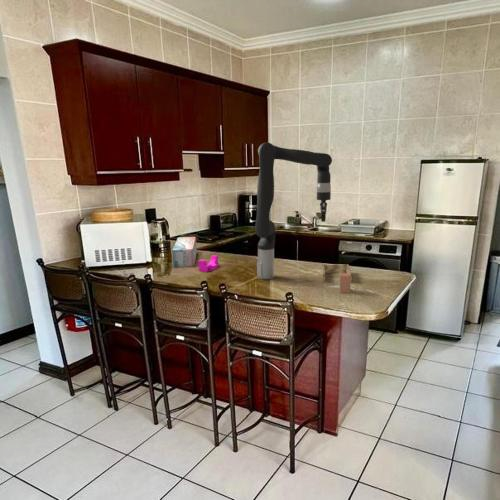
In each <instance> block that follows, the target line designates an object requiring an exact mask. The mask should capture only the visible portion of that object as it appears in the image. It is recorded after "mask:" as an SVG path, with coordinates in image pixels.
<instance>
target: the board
mask: <svg viewBox="0 0 500 500" xmlns="http://www.w3.org/2000/svg"><path fill="white" fill-rule="evenodd" d="M328 287H329V288H338V289H339V284H335V285H330V286H328ZM350 290H355V288H354V287H352V286H350Z"/></svg>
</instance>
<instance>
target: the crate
mask: <svg viewBox="0 0 500 500" xmlns="http://www.w3.org/2000/svg"><path fill="white" fill-rule="evenodd" d="M325 272H326V273H328V274H340V273H350V275H351V283H352V276H353V275H352V270H351V269H350V265H349V264H340V263H338V264H337V263H336V264H335V263H333V264H332V263H331V264H330V263H329V264H328V263H326V264H325V263H322V264H321V276H322V282H323V283H326V273H325Z"/></svg>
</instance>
